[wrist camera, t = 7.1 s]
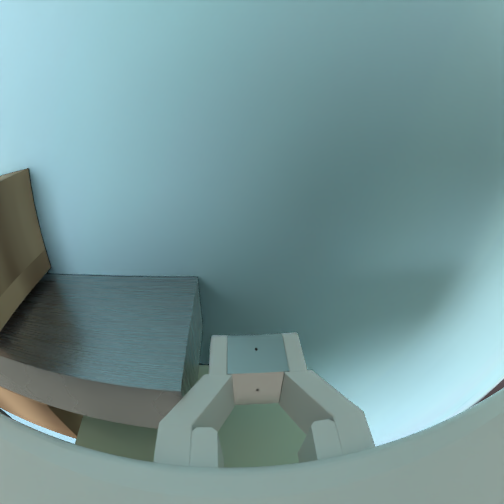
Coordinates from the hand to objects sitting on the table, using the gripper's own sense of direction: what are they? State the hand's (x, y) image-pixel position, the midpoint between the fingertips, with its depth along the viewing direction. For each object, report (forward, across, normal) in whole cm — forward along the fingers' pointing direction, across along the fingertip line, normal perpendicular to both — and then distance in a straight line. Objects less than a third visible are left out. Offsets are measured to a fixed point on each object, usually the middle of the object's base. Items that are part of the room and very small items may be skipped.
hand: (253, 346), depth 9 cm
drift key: (+2, +8, 0) cm, 8 cm away
